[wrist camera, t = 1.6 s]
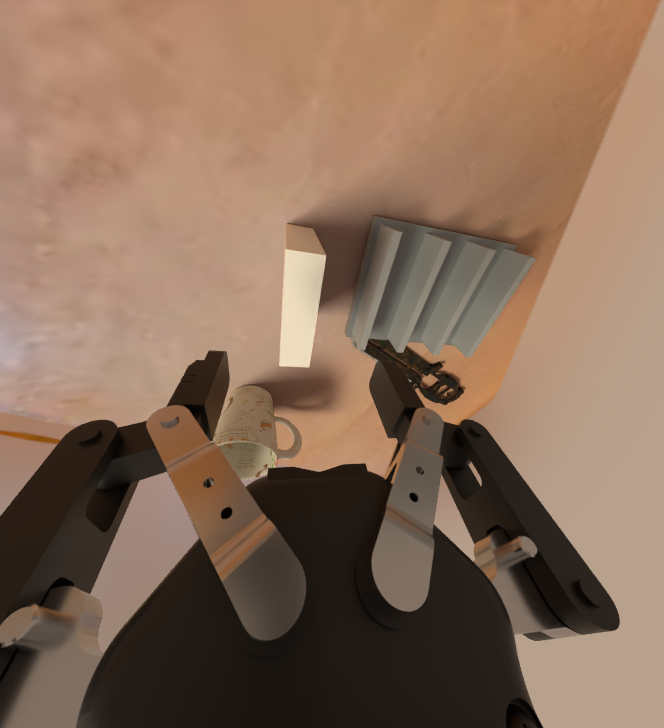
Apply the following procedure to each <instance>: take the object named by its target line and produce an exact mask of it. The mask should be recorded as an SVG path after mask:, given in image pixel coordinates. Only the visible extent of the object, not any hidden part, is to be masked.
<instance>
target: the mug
mask: <svg viewBox="0 0 664 728" xmlns="http://www.w3.org/2000/svg"><path fill="white" fill-rule="evenodd" d="M275 422H277V423H281V424H284V425H285V426H286V427H287V428H288V429H289V430H290V431H291V433H292V434H293V437H294V444H293V446H292V447H291V448H290V449H289V450H280V449H278V447H277V437H276V428H275ZM210 442H211V443H213V442H214V443H215V444H216V445H217V446H218V447H219V449H220V450H221V452H222V453H223V455H224V456H225V458H226V459H227V461H228V462H229V463H230V465H231V466H232V468H233V469H234V471H235V472H236V474H237V475H238V477H239V478H240V480H241V479H251V478H256V477H260V476H262V475H265V474H267V473H268V468H275V466H276V465H277V462H278V459H292V458H294V457H295V456H296V455H297V454H298V453H299V451H300V449H301V446H302V438H301V435H300V433H299V431H298V429H297V428H296V427H295V426H294V425H293V424H292V423H291V422H290V421H288V420H287V419H284V418H281V417H276V416H274V409H273V400H272V396H271V394H270V393H269V392H268V391H267V390H265V389H264V388H262V387H258V386H253V385H248V386H242V387H239V388H237V389H236V390H235V391H233V393H232V394H231V396H230V398H229V400H228V402H227V404H226V406H225V409H224V411H223V413H222V415H221V417H220V420H219V422H218V424H217V428H216V431H215V435H214V438H213V441H210Z"/></svg>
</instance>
